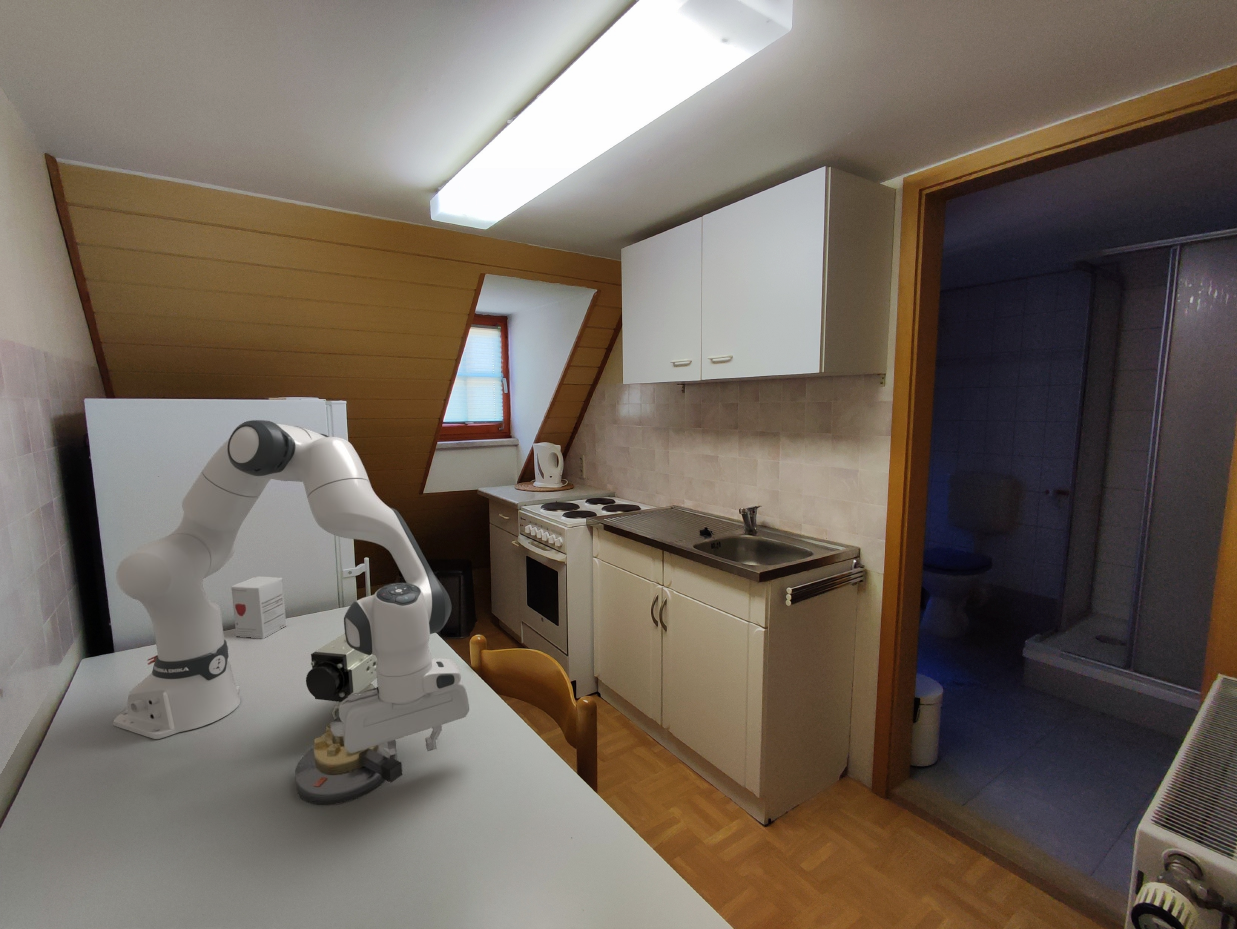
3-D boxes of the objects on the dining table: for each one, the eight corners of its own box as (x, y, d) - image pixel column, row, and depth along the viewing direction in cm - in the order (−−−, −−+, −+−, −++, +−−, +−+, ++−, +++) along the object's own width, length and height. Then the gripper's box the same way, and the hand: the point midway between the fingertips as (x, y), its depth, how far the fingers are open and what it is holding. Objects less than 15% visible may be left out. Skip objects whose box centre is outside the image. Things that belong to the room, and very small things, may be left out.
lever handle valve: (303, 761, 95) (301, 738, 95) (356, 730, 104) (354, 710, 103) (369, 800, 86) (367, 775, 85) (421, 763, 94) (420, 740, 94)
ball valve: (347, 741, 106) (340, 654, 104) (309, 736, 108) (301, 650, 105) (401, 691, 123) (396, 616, 121) (368, 688, 125) (362, 614, 123)
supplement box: (234, 637, 154) (229, 586, 152) (260, 624, 162) (255, 575, 160) (263, 639, 152) (258, 587, 150) (287, 626, 161) (283, 576, 159)
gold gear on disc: (273, 799, 91) (268, 745, 90) (338, 739, 106) (334, 693, 105) (361, 810, 88) (356, 754, 87) (414, 747, 104) (411, 699, 102)
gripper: (338, 707, 85) (346, 789, 87) (469, 671, 96) (474, 744, 97) (335, 689, 91) (343, 766, 92) (459, 657, 101) (464, 727, 103)
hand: (411, 755), depth 95 cm, fingers open, 5 cm apart
